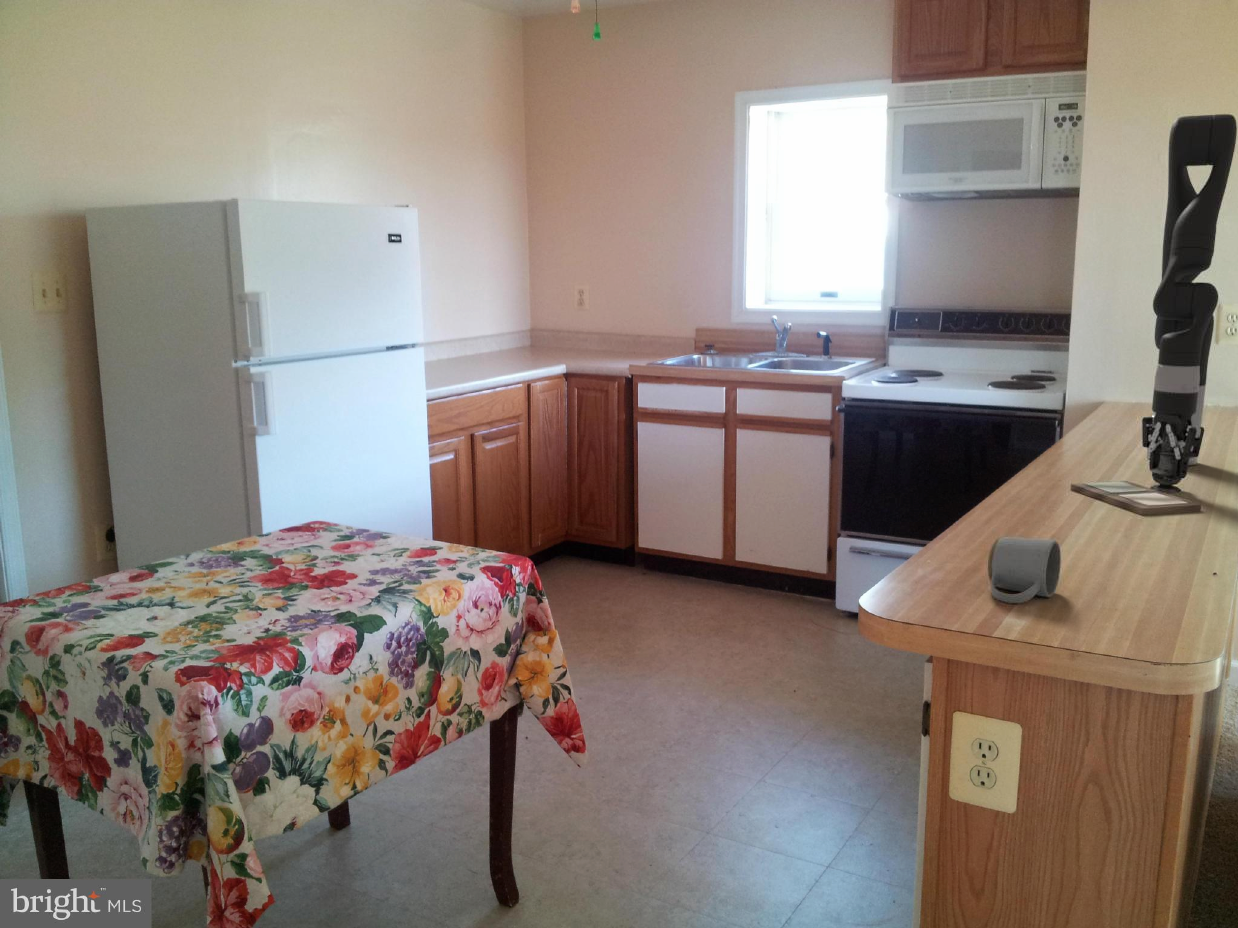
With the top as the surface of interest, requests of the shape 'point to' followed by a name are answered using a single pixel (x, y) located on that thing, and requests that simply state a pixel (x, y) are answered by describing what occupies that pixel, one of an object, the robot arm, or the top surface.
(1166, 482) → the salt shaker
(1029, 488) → the top surface
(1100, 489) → the board
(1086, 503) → the top surface
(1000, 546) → the ceramic mug
